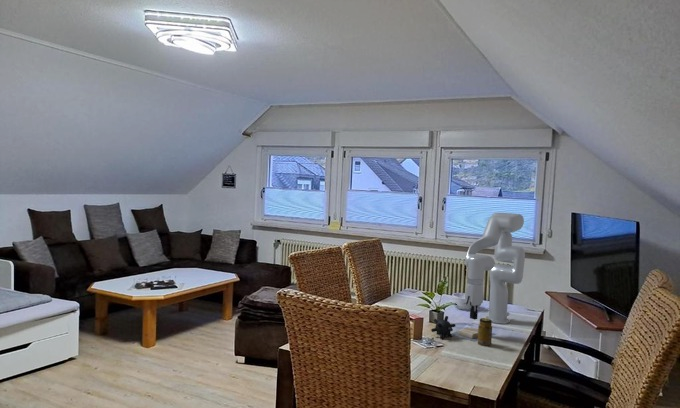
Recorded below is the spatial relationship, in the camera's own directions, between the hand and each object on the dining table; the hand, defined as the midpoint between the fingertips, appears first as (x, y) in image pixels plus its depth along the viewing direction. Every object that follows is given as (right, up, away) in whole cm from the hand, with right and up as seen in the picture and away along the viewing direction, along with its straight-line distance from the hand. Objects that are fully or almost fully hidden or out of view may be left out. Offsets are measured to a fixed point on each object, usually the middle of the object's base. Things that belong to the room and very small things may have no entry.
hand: (473, 318), depth 226 cm
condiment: (+1, -9, -16) cm, 18 cm away
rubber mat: (0, -8, 0) cm, 8 cm away
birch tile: (+2, -7, +2) cm, 7 cm away
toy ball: (-16, -8, -6) cm, 19 cm away
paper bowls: (+10, -8, +54) cm, 56 cm away
